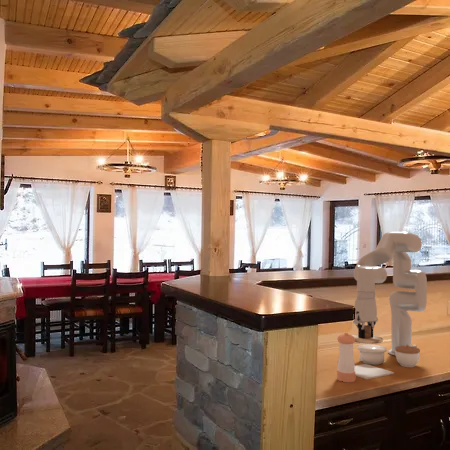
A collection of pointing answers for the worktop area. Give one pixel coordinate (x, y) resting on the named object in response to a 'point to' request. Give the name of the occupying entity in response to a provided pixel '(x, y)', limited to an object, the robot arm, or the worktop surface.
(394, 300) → the robot arm
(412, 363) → the lidded jar
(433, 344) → the worktop surface
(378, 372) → the mat
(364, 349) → the mushroom
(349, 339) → the pepper shaker
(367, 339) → the lid
